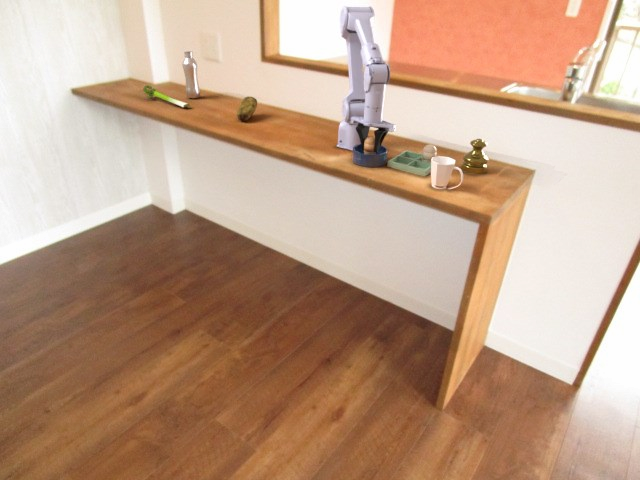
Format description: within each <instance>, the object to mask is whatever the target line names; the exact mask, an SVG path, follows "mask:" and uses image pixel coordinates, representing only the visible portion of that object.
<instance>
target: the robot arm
mask: <svg viewBox="0 0 640 480" xmlns="http://www.w3.org/2000/svg"><path fill="white" fill-rule="evenodd" d="M375 16H376V15H375V10H374V8H373V7H372V6H346V5H344V6H343V7H342V8H341V10H340V16H339V24H340V25H339V27H340V35H341V38H343V39H344V40H345V42H346V52H347V67H348V68H347V69H348V82H349V83H348V84H349V92H348V93H347V94H346V95H345V96H344V97H343V99H342V101H341V103H342V104H341V105H342V107H341V117H342V120H341V121H340V123H339V125H338V129H337V130H338V131H337V144H336V147H337V148H341V149H344V150H348V151H353V147H354V146H355V145H357V144H361V148H362V149H364V142H365V139H366V138H367V137H368V136H369V134H370V133H369V132H370V128H374V129H376V130H373V134H374V137H375V148H374V151H375V152H378V151H380V147H381V145H382V144H383V142H384V140H385V138H386V136H387V134H388V133H393V132H395V131H396V124H395V123H391V122H388V121H386V120H383V117H384V107H385V98H386V97H385V95H386V88H387V87H386V86H387V85H388V84H389V82H390V78H391V68H390V65H389V64H388V62H387V61H384V59H383V55H382V52H381V48H380V46H379V44H377V43H375V40H374V34H373V26H374V23H375Z"/></svg>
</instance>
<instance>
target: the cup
mask: <svg viewBox="0 0 640 480" xmlns="http://www.w3.org/2000/svg"><path fill="white" fill-rule="evenodd" d="M456 161H457V160H456V159H454V158H451V157H449V156H442V155H438V156H437V155H436V157H432V159H431V172H430V181H431V187H433V188H434V189H437V190H438V189H439V190H444V189H447V190H449V191H450V190H453V189H456V188H458V187H459V186H461V185H462V183H464V173H463V172H464V171H463V170H462V169H461V168H460V167H458V166H455V164H456ZM454 170H456V171H459V174H460V182H459V183H458V184H457V185H455V186H452V187H447V186H448V184H449V182H450V181H451V177H452V173H453V171H454Z"/></svg>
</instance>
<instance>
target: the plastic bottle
mask: <svg viewBox="0 0 640 480" xmlns="http://www.w3.org/2000/svg"><path fill="white" fill-rule="evenodd" d="M183 53H184V54H183V55H184V57H185V58H183V61H182V64H181V65H182V69H183V74H184V78H185V79H184V80H185V95H186V98H188V99H197V98H200V97H201V89H200V86H199V80H198V63H197V61H196V60H195V59H194V53H193V51H184V52H183Z"/></svg>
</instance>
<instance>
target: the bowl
mask: <svg viewBox="0 0 640 480" xmlns="http://www.w3.org/2000/svg"><path fill="white" fill-rule="evenodd" d="M351 153H352V154H351V161H352V163H354V164H355V165H357V166H360V167H366V168H379V167H383V166H385V165H386V164H388V157H389V156H388V155H389V149H388V147H386V146H385V145H382V144H381V147H380V151H378V152H377V153H376V154H365V153H364V149H362V148H361V144H357V145H355V146H354V147H353V150H352V152H351Z"/></svg>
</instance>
